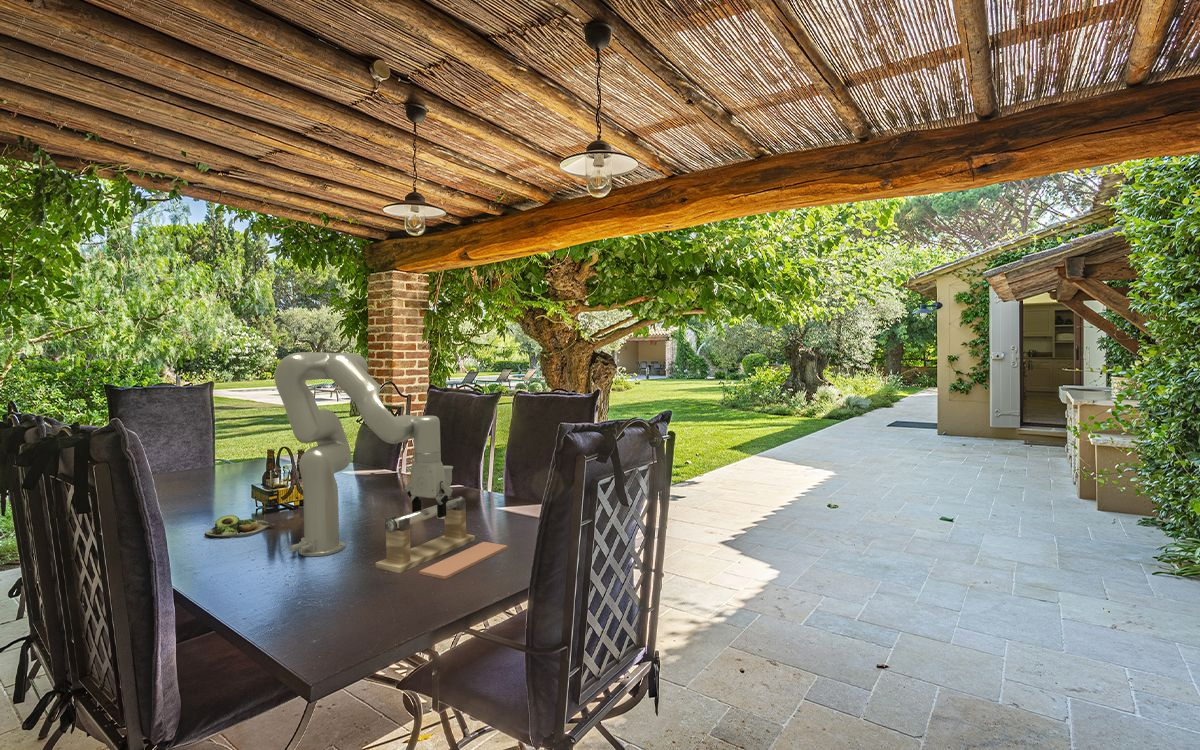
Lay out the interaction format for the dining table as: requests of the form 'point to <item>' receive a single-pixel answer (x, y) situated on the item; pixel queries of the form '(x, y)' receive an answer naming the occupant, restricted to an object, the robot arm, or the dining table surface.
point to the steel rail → (420, 515)
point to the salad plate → (236, 527)
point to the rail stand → (406, 558)
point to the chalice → (447, 477)
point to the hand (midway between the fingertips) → (429, 515)
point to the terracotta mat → (463, 560)
